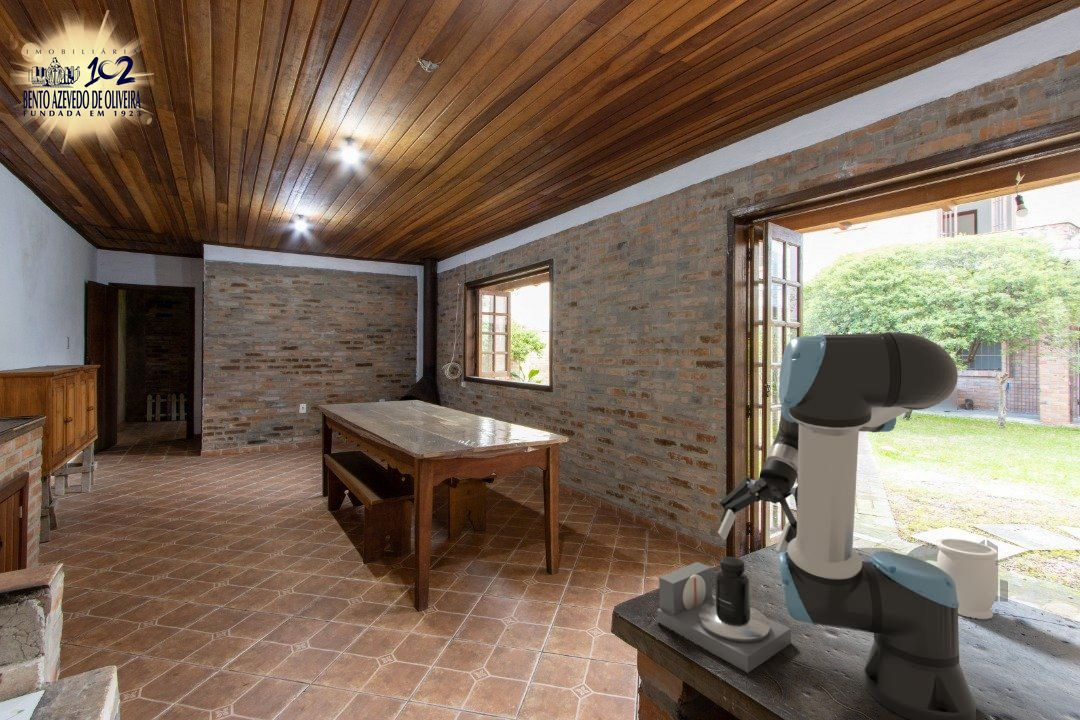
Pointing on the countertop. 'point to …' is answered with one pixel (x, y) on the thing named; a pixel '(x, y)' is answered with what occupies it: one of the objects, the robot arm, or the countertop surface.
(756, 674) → the countertop surface
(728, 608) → the supplement bottle
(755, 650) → the scale
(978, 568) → the jar
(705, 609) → the scale pan
